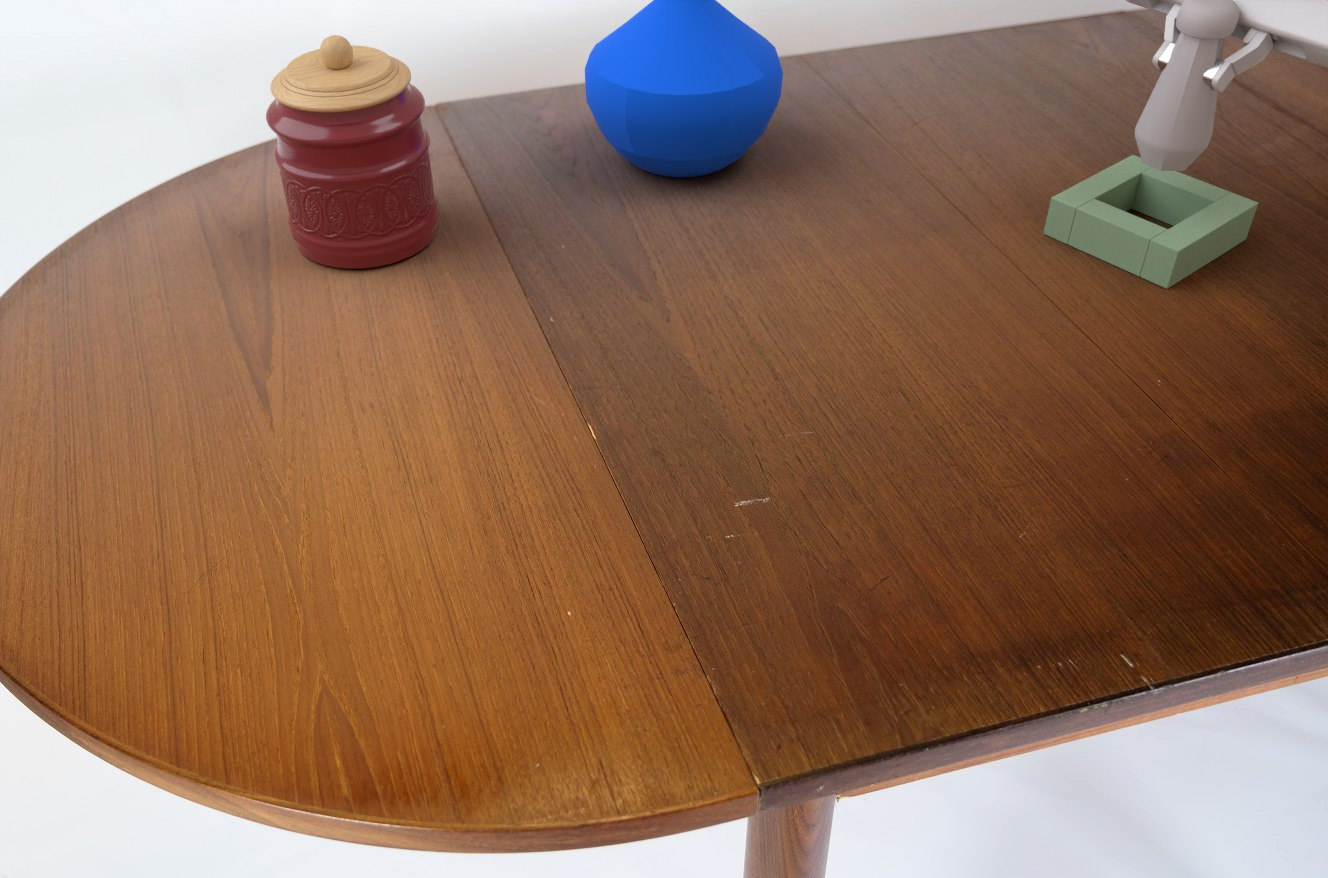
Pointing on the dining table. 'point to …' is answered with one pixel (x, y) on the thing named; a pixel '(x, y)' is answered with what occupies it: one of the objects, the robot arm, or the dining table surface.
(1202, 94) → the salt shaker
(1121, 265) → the pad socket
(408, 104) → the kitchen canister
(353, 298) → the dining table surface
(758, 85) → the vase
